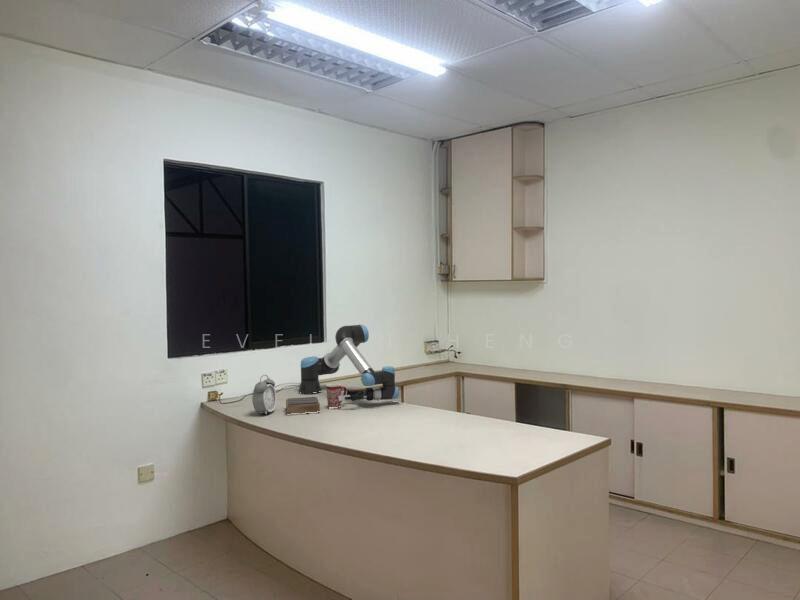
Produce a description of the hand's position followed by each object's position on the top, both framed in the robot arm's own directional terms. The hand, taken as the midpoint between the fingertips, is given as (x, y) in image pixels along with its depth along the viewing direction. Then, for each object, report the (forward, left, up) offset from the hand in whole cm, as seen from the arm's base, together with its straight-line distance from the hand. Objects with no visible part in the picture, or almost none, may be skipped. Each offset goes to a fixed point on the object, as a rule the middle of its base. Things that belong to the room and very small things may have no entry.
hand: (337, 396), depth 325 cm
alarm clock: (+3, -41, -7) cm, 42 cm away
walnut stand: (+2, -20, -7) cm, 21 cm away
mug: (-1, 0, -7) cm, 7 cm away
